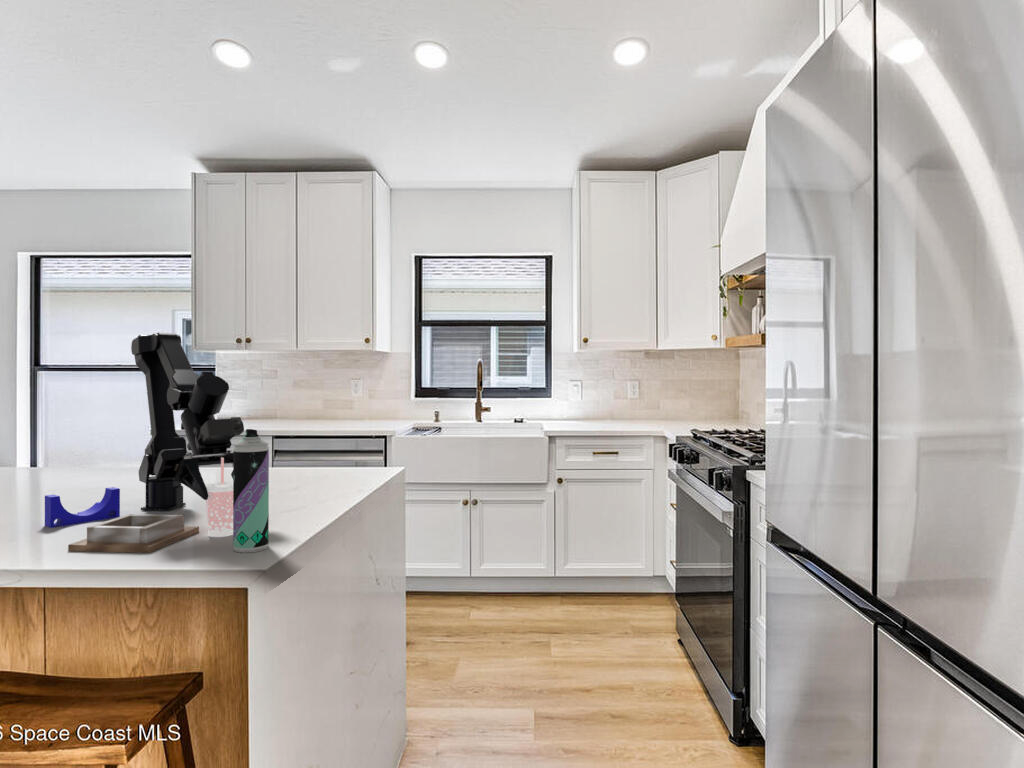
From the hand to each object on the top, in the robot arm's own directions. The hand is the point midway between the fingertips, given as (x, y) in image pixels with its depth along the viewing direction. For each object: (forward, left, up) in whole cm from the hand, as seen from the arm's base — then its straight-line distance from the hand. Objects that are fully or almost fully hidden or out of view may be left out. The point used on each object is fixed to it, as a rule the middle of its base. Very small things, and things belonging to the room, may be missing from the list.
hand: (225, 496), depth 112 cm
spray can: (+9, -8, -7) cm, 14 cm away
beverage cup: (-1, +1, -7) cm, 7 cm away
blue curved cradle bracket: (-35, +9, -7) cm, 37 cm away
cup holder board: (-13, -5, -7) cm, 16 cm away
